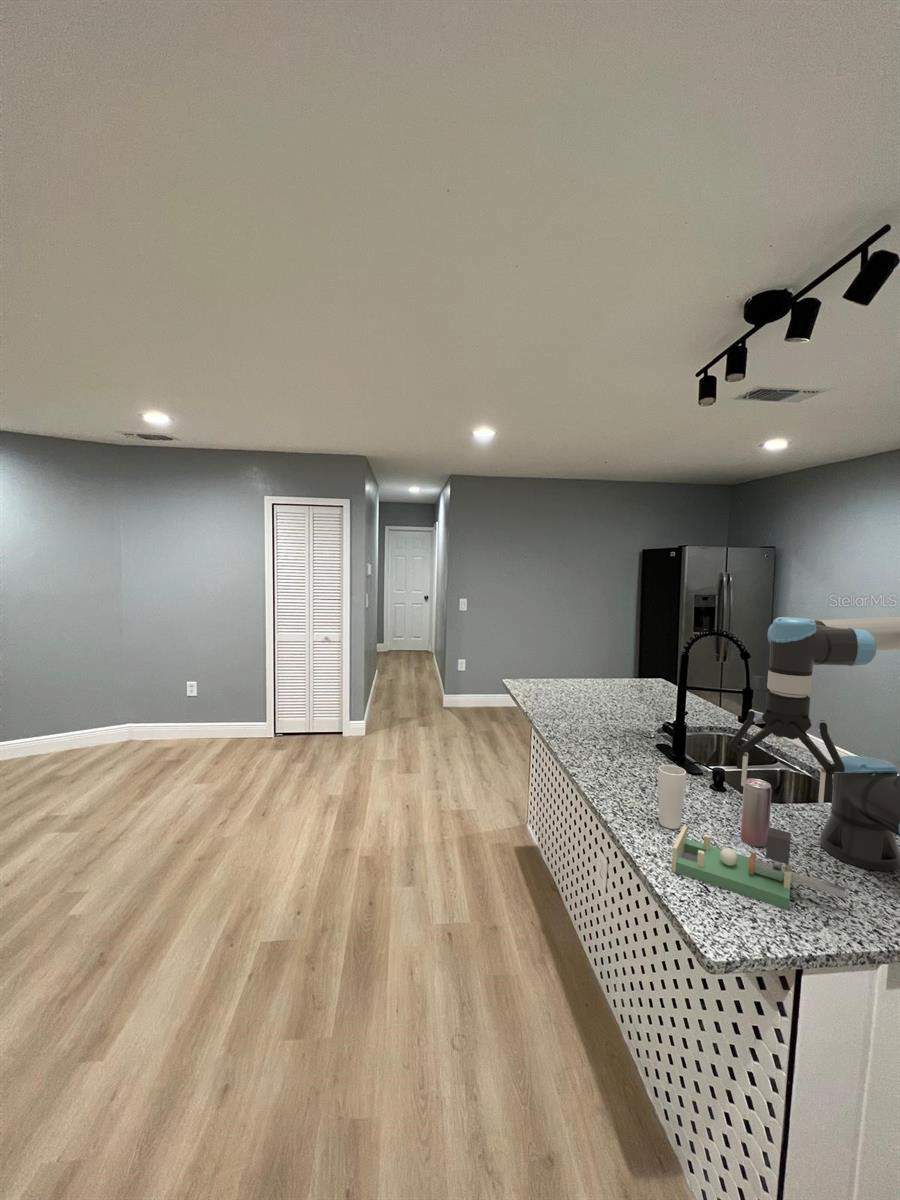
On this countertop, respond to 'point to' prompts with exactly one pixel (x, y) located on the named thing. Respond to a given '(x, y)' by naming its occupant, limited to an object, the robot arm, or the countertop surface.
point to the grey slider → (780, 854)
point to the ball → (729, 856)
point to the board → (728, 871)
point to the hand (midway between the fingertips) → (780, 792)
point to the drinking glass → (671, 795)
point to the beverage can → (756, 812)
